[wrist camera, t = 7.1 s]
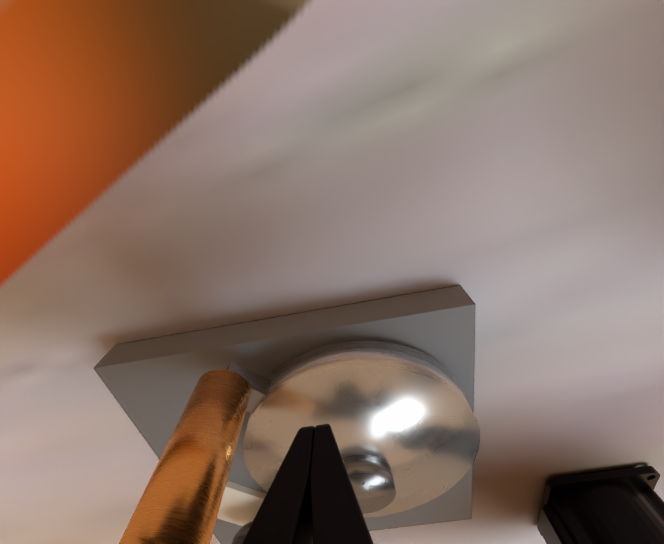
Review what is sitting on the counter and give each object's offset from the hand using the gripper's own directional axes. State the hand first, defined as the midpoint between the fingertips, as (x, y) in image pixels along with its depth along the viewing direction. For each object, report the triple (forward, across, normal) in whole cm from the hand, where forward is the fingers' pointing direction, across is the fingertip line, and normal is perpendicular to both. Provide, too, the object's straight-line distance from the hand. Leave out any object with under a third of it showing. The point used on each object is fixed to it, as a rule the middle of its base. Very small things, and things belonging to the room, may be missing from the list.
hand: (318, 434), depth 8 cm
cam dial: (+4, +2, +7) cm, 8 cm away
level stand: (+6, +2, +8) cm, 10 cm away
